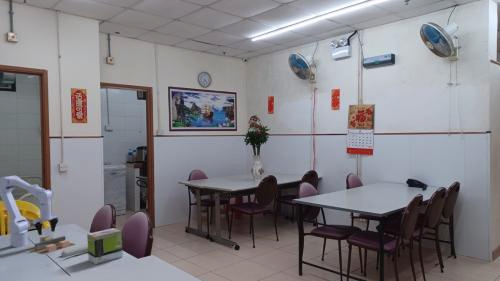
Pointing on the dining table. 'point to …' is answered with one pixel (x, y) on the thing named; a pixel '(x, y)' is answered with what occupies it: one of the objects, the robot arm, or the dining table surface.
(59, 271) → the dining table surface
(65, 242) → the tile
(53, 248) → the pink block
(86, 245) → the tube
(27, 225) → the robot arm
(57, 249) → the board
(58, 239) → the scraper
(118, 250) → the tea box
